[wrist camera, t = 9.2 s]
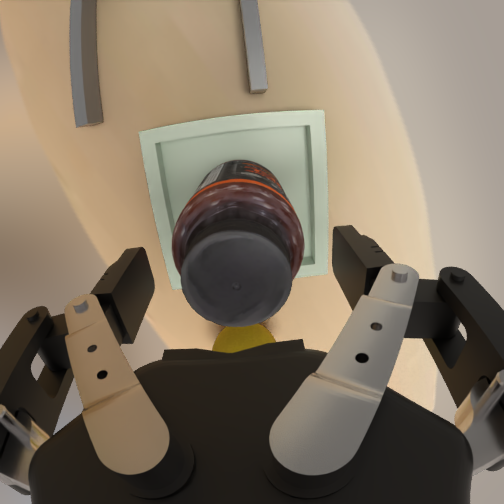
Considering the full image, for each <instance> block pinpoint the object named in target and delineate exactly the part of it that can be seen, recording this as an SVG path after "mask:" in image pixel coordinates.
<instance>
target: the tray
mask: <svg viewBox="0 0 504 504" xmlns="http://www.w3.org/2000/svg"><path fill="white" fill-rule="evenodd" d="M139 137H140V144H141V150H142V156H143V162H144V168H145V173H146V179H147V184H148V189H149V194H150V199H151V204H152V209H153V213H154V218H155V222H156V227H157V231H158V236H159V240H160V244H161V248H162V252H163V256H164V260H165V264H166V268H167V272H168V275H169V279H170V283H171V287H172V290H175V289H182V286H181V281H180V280H181V276H180V275H179V273H178V271H177V269H176V267H175V263H174V260H173V256H172V236H173V231H174V228H175V225H176V222H177V219H178V217H179V215H180V213H181V212H182V210H183V209H184V207H185V205H186V204H187V202H188V201H189V200H190V198H191V197H192V195H193V194H194V192H195V191H196V189H197V188H198V186H199V185H200V184H201V182H202V181H203V179H204V178H205V176H206V175H207V174H208V173H209V172H210V171H212V169H214V168H215V167H217V166H218V165H220V164H222V163H225V162H228V161H232V160H248V161H253V162H256V163H258V164H260V165H262V166H264V167H265V168H267V169H268V170H270V171H271V172H272V173H273V174H274V176H275V177H276V178H277V180H278V181H279V183H280V185H281V186H282V188H283V190H284V192H285V194H286V196H287V197H288V199H289V201H290V203H291V205H292V206H293V208H294V210H295V213H296V214H297V216H298V218H299V221H300V223H301V227H302V231H303V236H304V243H305V249H304V255H303V260H302V263H301V266H300V269H299V271H298V273H297V275H296V276H295V278H299V277H308V276H317V275H325V274H328V172H327V149H326V132H325V117H324V110H297V111H278V112H264V113H252V114H242V115H233V116H225V117H217V118H210V119H203V120H197V121H191V122H185V123H179V124H174V125H169V126H163V127H159V128H154V129H149V130H145V131H140V132H139Z"/></svg>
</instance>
